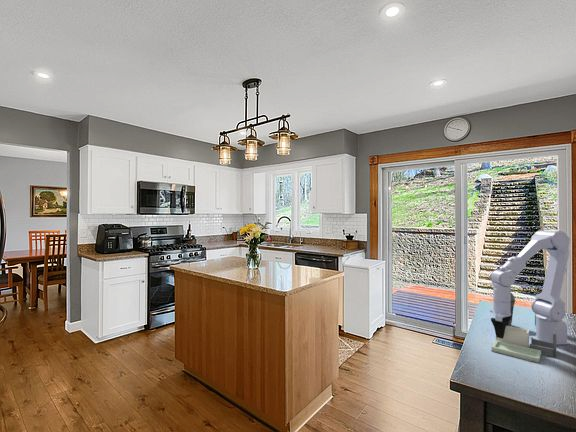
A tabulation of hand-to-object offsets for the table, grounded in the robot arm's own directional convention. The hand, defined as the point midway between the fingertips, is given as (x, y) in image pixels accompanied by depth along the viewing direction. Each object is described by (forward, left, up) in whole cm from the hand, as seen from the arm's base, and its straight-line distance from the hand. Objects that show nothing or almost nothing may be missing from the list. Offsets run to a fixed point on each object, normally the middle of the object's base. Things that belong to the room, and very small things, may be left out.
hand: (501, 334), depth 123 cm
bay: (-9, +9, -2) cm, 13 cm away
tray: (+3, +11, -2) cm, 11 cm away
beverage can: (-29, -11, -3) cm, 31 cm away
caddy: (-2, +3, -2) cm, 4 cm away
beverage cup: (-17, -18, -3) cm, 25 cm away
